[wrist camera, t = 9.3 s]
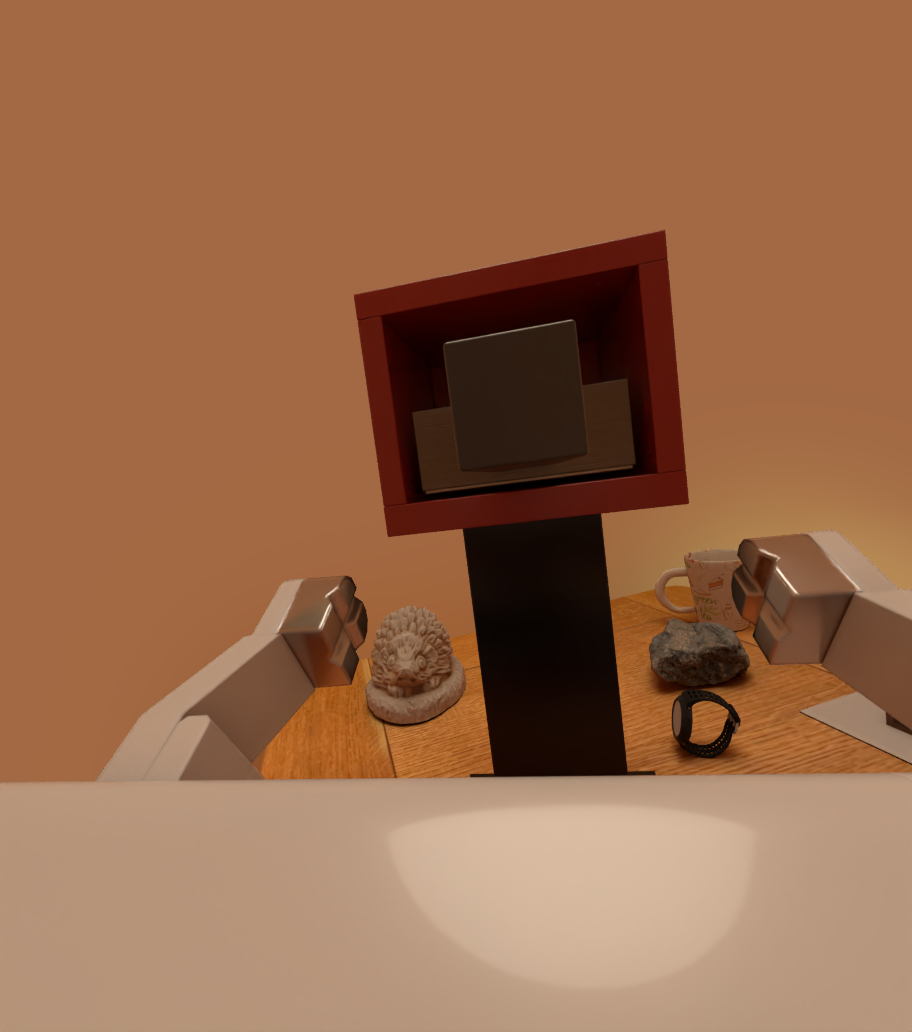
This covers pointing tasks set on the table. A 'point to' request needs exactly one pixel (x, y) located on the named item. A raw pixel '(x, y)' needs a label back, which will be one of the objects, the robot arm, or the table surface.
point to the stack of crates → (865, 723)
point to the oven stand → (536, 485)
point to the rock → (697, 653)
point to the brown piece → (522, 414)
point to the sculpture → (413, 668)
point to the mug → (707, 587)
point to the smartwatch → (684, 723)
